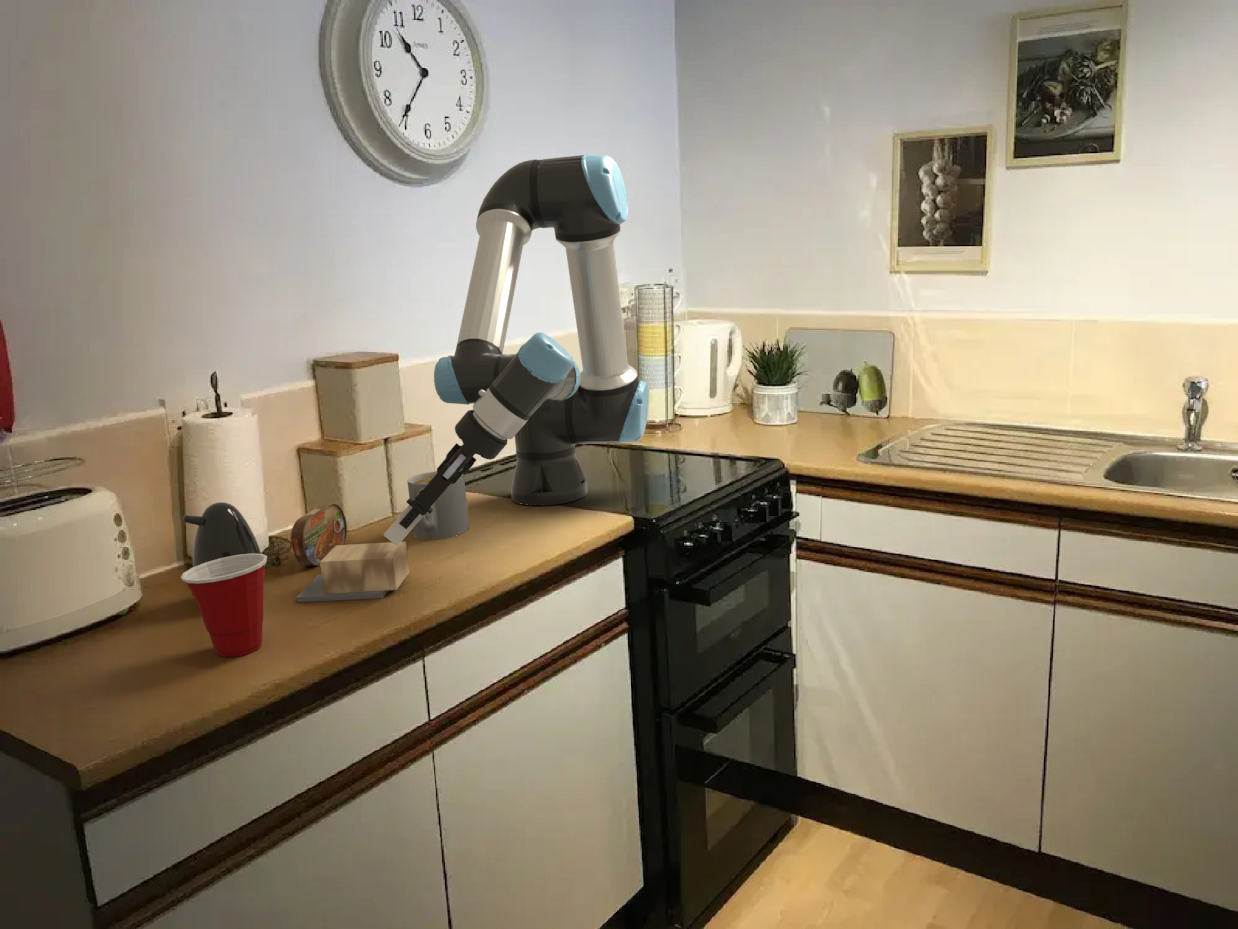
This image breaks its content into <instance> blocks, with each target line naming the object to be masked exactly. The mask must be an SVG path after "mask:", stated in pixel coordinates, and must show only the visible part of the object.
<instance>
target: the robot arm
mask: <svg viewBox="0 0 1238 929" xmlns="http://www.w3.org/2000/svg"><path fill="white" fill-rule="evenodd" d="M628 207H629V206H628V196H627V190H626V186H625V181H624V177H623V174H622V172H621V170H620V167H619V165H618V164H617V162H616V161H615V160H614V159H613V157H611V156H609V155H606V154H605V155H604V154H597V155H594V154H588V153H587V154H581V155H579V154H578V155H572V156H563V157H553V158H543V159H530V160H529V159H528V160H526V161H522V162H518V163H517V164H515V165H514V166H512V167H511V168H509V169H508V170H507V171H505V172H503V174H502V175H500V176H499V177H498V179H497V180H495V182H494V183H493V185H491V187H490V189H489V190H488V192H487V193H486V195H485V197H484V199H483V201H482V202H481V204H480V207H479V210H478V213H477V218H476V223H475V229H476V232H477V234H478V236H479V238H478V242H477V247H476V252H475V257H474V262H473V266H472V271H471V275H470V280H469V286H468V289H467V293H466V294H467V295H466V300H465V305H464V310H463V314H462V319H461V323H460V329H459V334H458V338H457V342H456V348H455V351H454V355H448V356H442V357H440V358H439V359H438V361H437V362H436V364H435V366H434V369H433V370H434V372H433V378H434V379H433V381H434V384H433V385H434V388H435V392H436V394H437V396H438V397H439V399H440V400H441V401H442V402H443V403H445V404H453V405H454V404H456V405H467V406H468V405H471V404H473V405H472V409H469V410H467V411H466V413H464V415H463V416H462V417H461V418H460V420H459V421H458V422H457V423H456V424H455V425H454V432H455V435H456V436H457V437H458V439H459V440H461V442H462V445H460V444H459V443H455V444H454V445H453V447H452V448H450V450H449V451H448V452H447V453H446V455H445V459H444V460H443V461H442V462H441V463H440V464H439V465H438V467H437V468H436V471H437V474H436V475H435V476H434V478H433V479H432V480H431V481H430V482H429V483H428V485H427V486H426V487H425V488H424V489H423V490H421V491H420V493H419V495H418V496H416V497H415V500H412V499H410V498H408V499H407V501H406V504H408V505H407V507H406V508H404V510H403V511H402V512H401V513H400V515H399V516H398V517H397V518H396V519H395V520H394V522H393V523H392V524H391V525H390V526H389V527H388V528H387V530H386V531H385V532H384V534H383V536H384V537H385V538H387V539H388V541H390V542H393V543H394V544H395V545H396V546H398V545H399V544H400V542H403V540H404V539H405V538H406V536H408V534H409V533H410V532H411V531H413V527H414V526H415V525H416V524H417V523H418V522H419V520H420V519H421V518H422V517H423V516H424V515H425V514H426V513H427V512H428V513H429V514H430V513H431V512H432V511H433V509H432V508H431V506H432V505H433V504H434V502H435V501H436V500H437V499H438V498H439V497H440V496H441V494H442V493H443V492H444V491H445V490H446V489H447V488H448V486H449V485H450V484H455V483H456V482H457V480H458V479H459V478H460V477H461V476H462V475H464V473H468V471H469V470H471V468H472V467H473V466H474V464H475V463H476V461H477V458H475V457H474V456H475V455H479V456H480V457H481V458H483V459H485V460H494V459H496V457H497V456H498V455H499V454H500V453H501V452H502V450H503V449H504V448H505V447H506V446H507V445H508V440H512V439H513V438H514V441H515V442H514V443H515V453H516V454H515V455H516V464H515V468H514V472H513V477H512V482H511V486H510V497H511V500H512V502H513V503H515V502H516V503H515V504H518V503H522V504H521V505H523V504H528V505H527V506H533V505H543V506H554V505H562V504H567V503H570V502H574V501H575V502H576V501H578V500H580V499H582V498H585V497H586V496H587V495H588V483H587V479H586V478H585V474H584V472H583V470H582V468H581V465H580V462H579V460H578V458H577V455H576V453H577V452H576V445H589V444H590V445H591V444H593V445H594V444H596V445H598V444H599V445H600V444H618V445H621V444H622V443H623V444H626V443H637V442H639V441H640V440H641V439H642V438H643V436H644V434H645V431H646V427H647V420H648V414H649V403H650V402H649V400H650V396H649V395H650V391H649V385H648V383H647V382H646V381H643V380H640V381H639V378H638V377H639V376H638V371H637V370H636V368H634V367H632V366H631V365H630V364H629V360H628V353H627V352H628V351H627V345H626V336H625V327H624V321H623V320H624V319H623V311H622V303H621V302H622V301H621V295H620V287H619V278H618V277H619V276H618V271H617V270H618V269H617V260H616V254H615V253H616V252H615V245H614V244H615V243H614V241H615V240H616V238H617V237H618V235H620V233H621V224H623V223H625V222H626V221H627V220H628V219H627V218H628V215H629V208H628ZM540 228H541V229H546V228H547V229H549V228H550V229H551V228H552V229H553V231H554V235H555V240H556V241H557V242H558V243H559V244H560V245H561V246H563V247H564V248H565V253H566V259H567V260H566V261H567V268H568V274H569V281H570V288H571V293H572V294H571V296H572V302H573V310H574V318H575V324H576V329H577V337H578V344H579V345H578V346H579V352H580V358H581V366H582V370H581V369H580V367H579V365H578V364H577V363H576V362H575V361H574V358H573V357H572V355H571V354H570V353H569V352H568V351H567V349H565V348H564V347H563V345H561V344H560V343H559V342H558V341H556V340H555V339H554V338H552V337H551V336H549V335H547V334H546V333H544V332H536V333H534V334H533V335H532V336H531V337H530V338H529V339H528V340H527V341H526V342H525V343H524V344H521V346H520V348H519V349H518V351H517V352H516V353H511V354H510V353H508V354H503V352H504V349H505V342H506V338H507V332H508V328H509V322H510V316H511V311H512V306H513V300H514V295H515V291H516V285H517V279H518V274H519V270H520V266H521V265H520V264H521V259H522V254H523V249H524V246H525V245H527V244H528V243H529V242H530V239H531V237H532V232H533V231H534V230H537V229H540Z"/></svg>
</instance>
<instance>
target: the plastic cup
mask: <svg viewBox="0 0 1238 929" xmlns="http://www.w3.org/2000/svg"><path fill="white" fill-rule="evenodd" d="M267 559H268V556H267V554H263V553H261V554H252V553H251V554H242V555H234V556H229V557H224V558H220V559H216V560H213V561H209V562H206V563H203V564H200V565H198V566H195V567H193V566H192V567H190V568H189V569H187V570H186V571H184V572H182V574H181V577H180V578H181V580H182V581H183V582H184V583H185V584H186V585H187V587H188V588H189V590H190V593H191V594H192V596H193V598H194V600H195V603H196V606H197V608H198V610H199V613H200V616H201V618H202V619H201V620H202V621H203V624H204V626H205V629H206V631H207V632H208V635H209V637H210V640H211V644H212V646H213V649H214V650H215V652H216V654H217V656H219V657H222V656H224V657H223V658H235V657H234V656H236V657H241V656H246V655H250V654H252V653H254V652H255V651H258V650H259V649H260V648H261V647H262V642H263V624H264V623H263V622H264V581H265V571H266V564H267V561H268V560H267ZM264 568H265V569H264ZM227 656H228V657H227ZM230 656H231V657H230ZM232 656H233V657H232Z"/></svg>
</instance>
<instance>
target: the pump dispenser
mask: <svg viewBox="0 0 1238 929" xmlns="http://www.w3.org/2000/svg"><path fill="white" fill-rule="evenodd" d="M182 521H183V522H184V523H188V524H191V525H195V526H197V527H196V531H195V535H194V542H193V546H192V548H193V549H192V568H193V567H195V566H198V565H200V564H203V563H206V562H209V561H213V560H216V559H220V558H224V557H229V556H234V555H242V554H251V553H252V554H262V552H261V549H260V547H259V546H260V545H259V544H258V540H257V539H256V536H255V534H254V532H253V531H252V530H253V529H252V528H251V526H250V525H249V523H248V522H247V520H246V519H245V517H244V516H243V514H242V513H241V511H239V509H237V508H236V507H235V506H234V505H233V504H230V503H228V502H225V501H224V502H223V501H220V502H215V503H212V504H210V505H209V506H206V508H205V509H204V511H203V512H202V514H201V516H200V515H189V514H186V515H183V518H182ZM264 569H265V570H266V567H265V568H264Z"/></svg>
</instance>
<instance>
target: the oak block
mask: <svg viewBox="0 0 1238 929" xmlns="http://www.w3.org/2000/svg"><path fill="white" fill-rule="evenodd" d="M319 566H320V571H321V575H322V580H323V587H324V594H325V593H345V592H364V591H383V590H388V591H397V590H398V589H399V587H400V586H401V584H402V583H403V582H404V580H405V579H406V578H407V577H408V575H409V574H410V566H409V558H408V550H407V542H406V541H401V542H400V544H399V545H398V546H396V545H395V544H394V543H393V542H391V541H390V542H389V541H388V542H374V543H372V542H371V543H359V544H358V543H356V544H355V543H354V544H353V543H352V544H344V545H336V546H335V547H334V548H333V549H332V550H331V551H330V552H329V553H328V554H327V555H326V556H325V557H324V558H323V559H322V560H321V561H320V565H319Z"/></svg>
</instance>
